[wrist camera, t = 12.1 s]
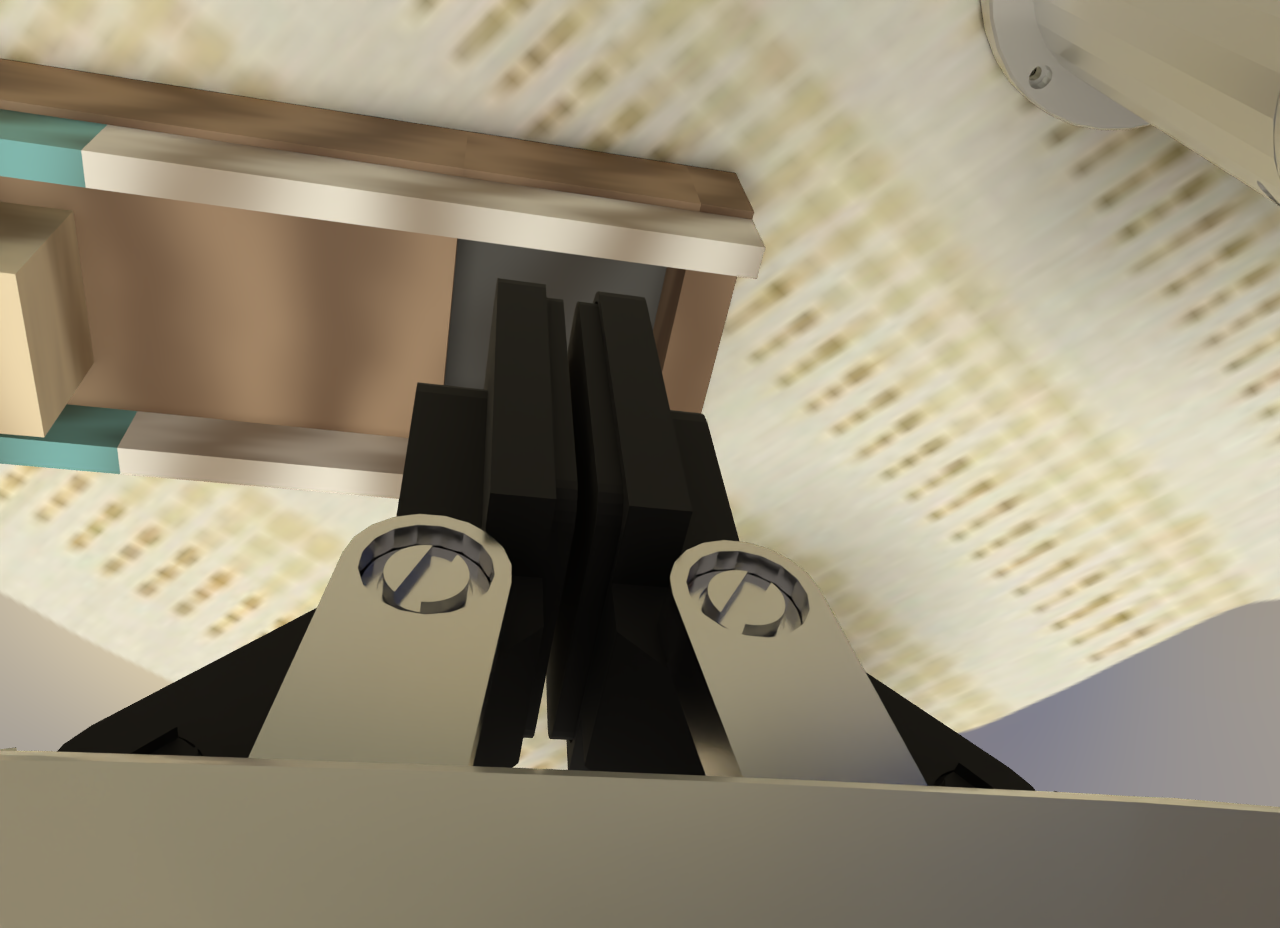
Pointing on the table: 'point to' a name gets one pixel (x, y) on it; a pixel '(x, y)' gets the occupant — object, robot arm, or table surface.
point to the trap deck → (330, 270)
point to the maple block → (40, 317)
